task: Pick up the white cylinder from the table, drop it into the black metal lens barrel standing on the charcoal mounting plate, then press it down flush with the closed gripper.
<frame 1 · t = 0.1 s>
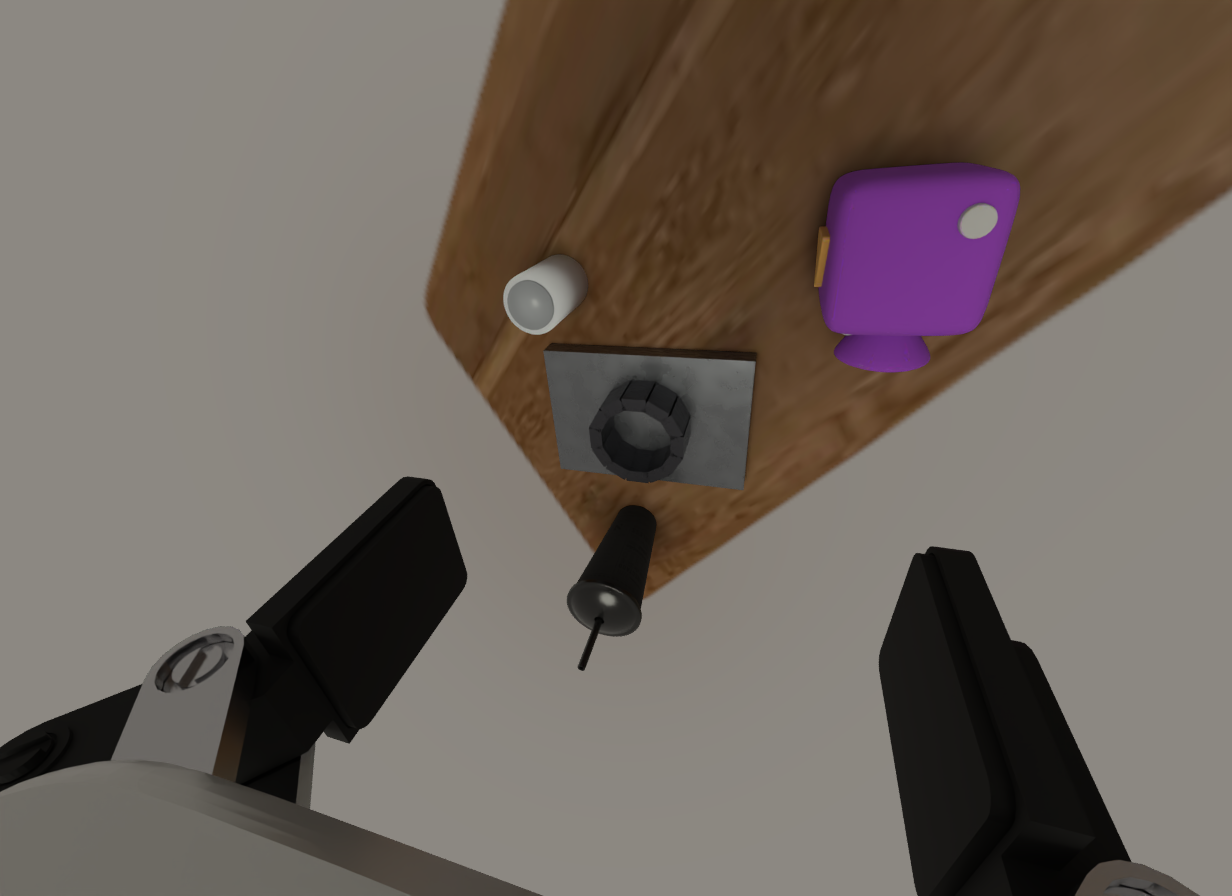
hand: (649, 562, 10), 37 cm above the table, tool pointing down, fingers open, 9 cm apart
white cylinder: (562, 282, 46), on the table
drinking cup: (637, 519, 60), on the table
toy camera: (887, 258, 38), on the table
lens mount: (650, 412, 51), on the table
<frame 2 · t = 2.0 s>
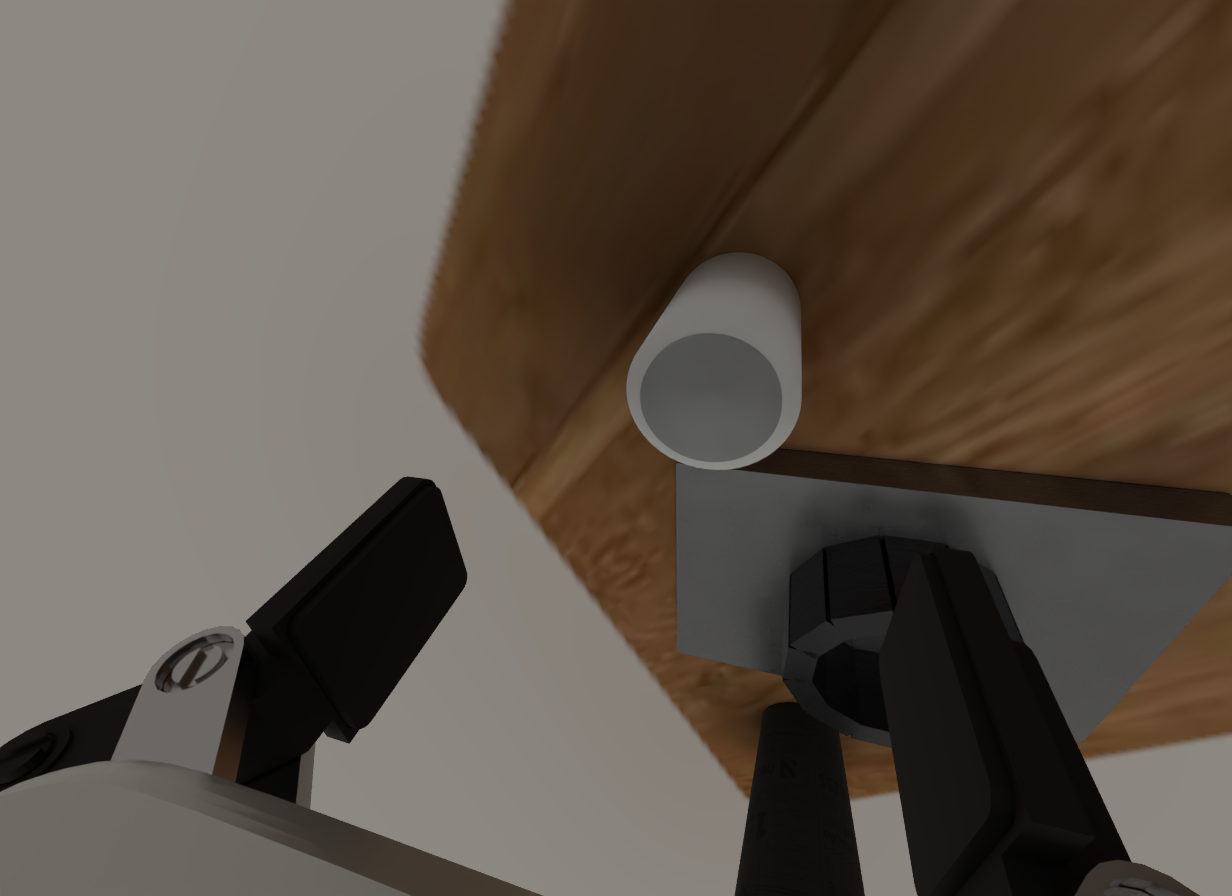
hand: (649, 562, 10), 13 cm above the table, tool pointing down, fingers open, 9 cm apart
white cylinder: (734, 317, 20), on the table
drinking cup: (800, 720, 34), on the table
lens mount: (882, 577, 25), on the table
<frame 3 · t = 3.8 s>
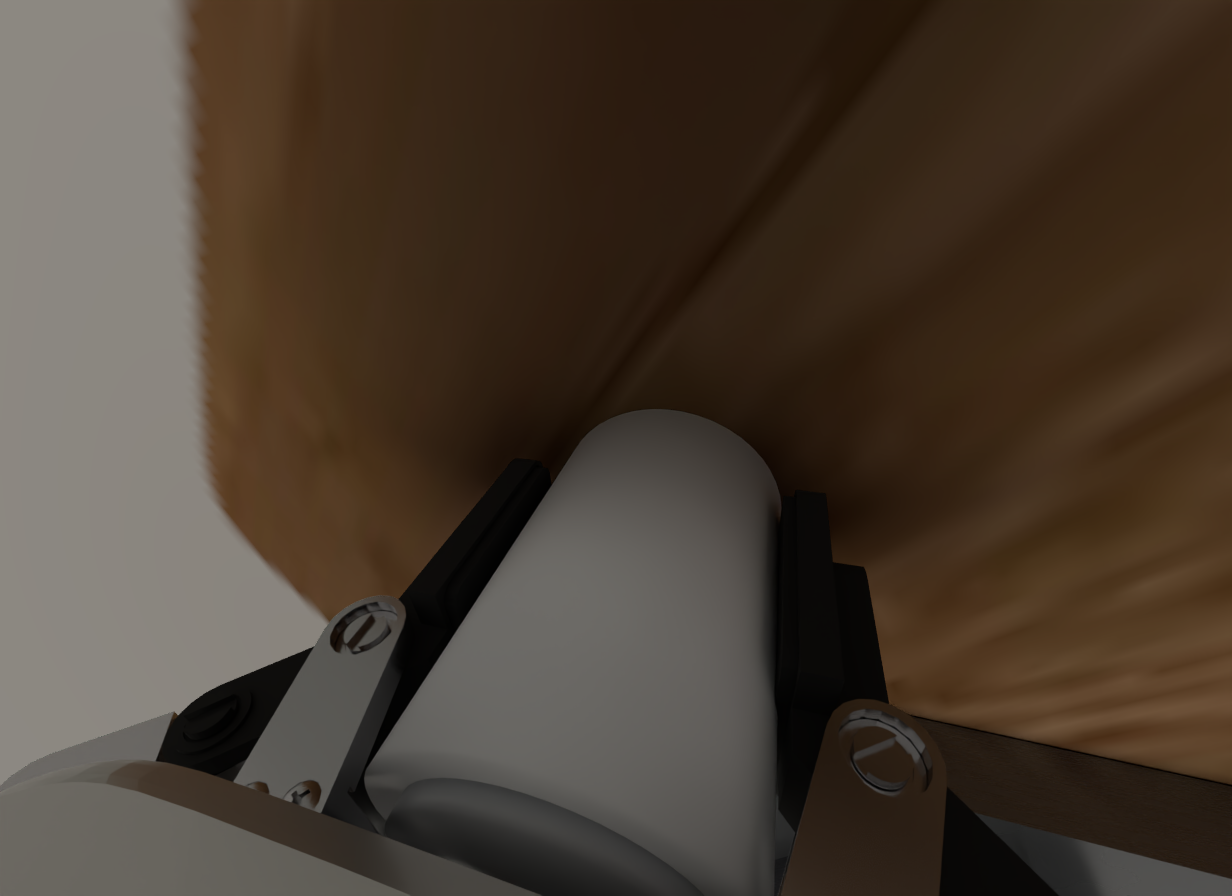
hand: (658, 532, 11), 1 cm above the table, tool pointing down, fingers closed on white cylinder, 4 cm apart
white cylinder: (667, 504, 11), on the table, touching gripper
lens mount: (912, 846, 16), on the table
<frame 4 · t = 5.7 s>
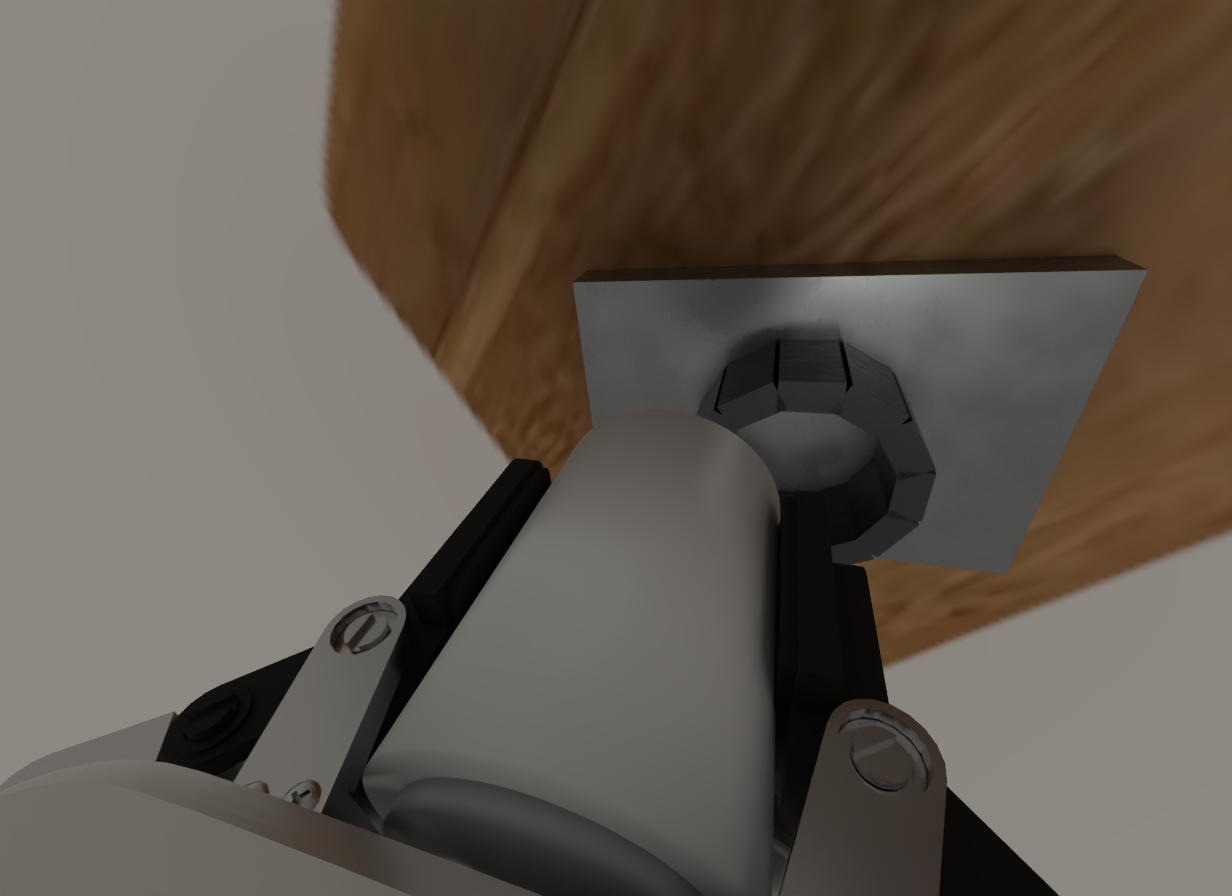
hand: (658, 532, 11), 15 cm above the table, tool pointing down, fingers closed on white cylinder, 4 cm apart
white cylinder: (666, 504, 11), point 14 cm above the table, touching gripper
drinking cup: (742, 607, 33), on the table
lens mount: (797, 413, 24), on the table
when the fingers open (8 cm above the table, at t = 7.7 s): white cylinder drops 5 cm, resting on lens mount.
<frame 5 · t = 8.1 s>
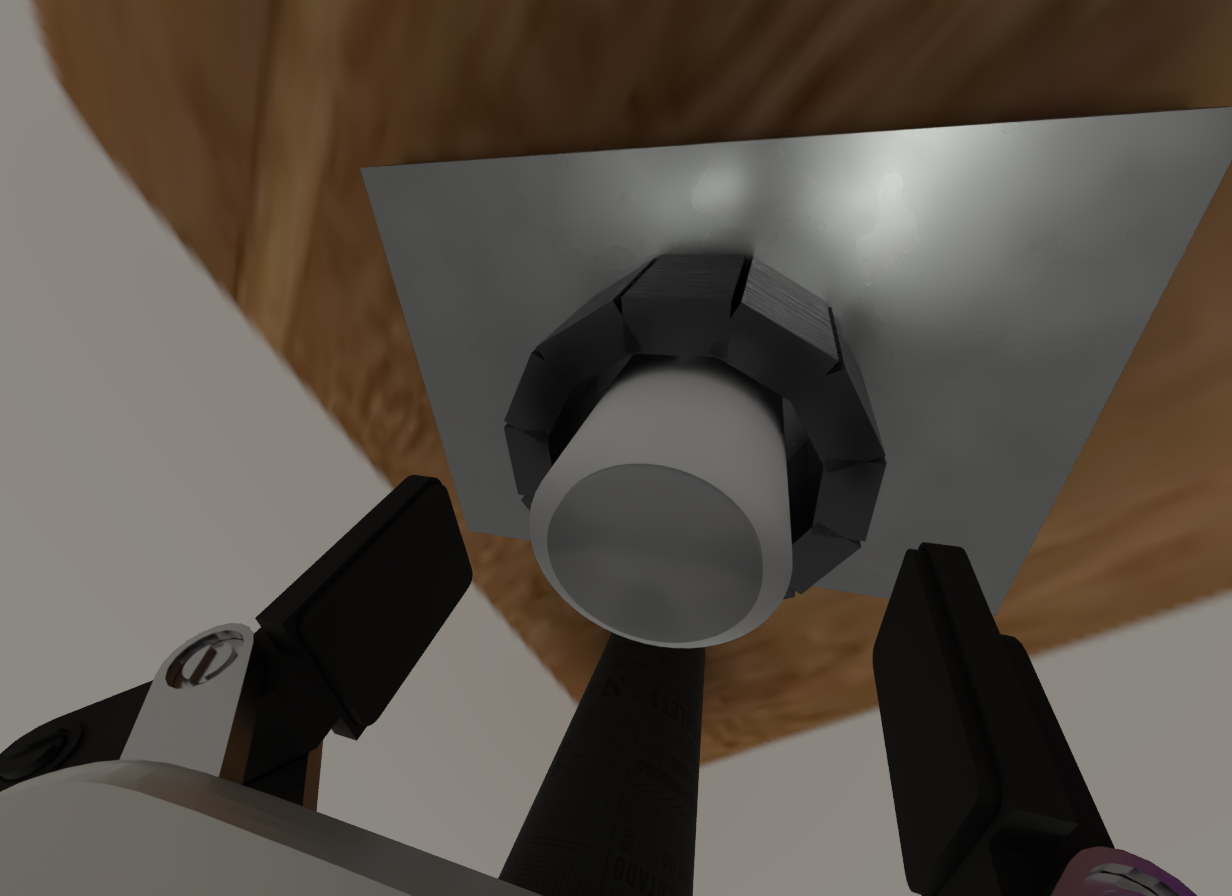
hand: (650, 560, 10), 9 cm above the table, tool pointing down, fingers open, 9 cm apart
white cylinder: (696, 405, 15), point 2 cm above the table, touching lens mount
drinking cup: (659, 640, 26), on the table
lens mount: (707, 379, 17), on the table
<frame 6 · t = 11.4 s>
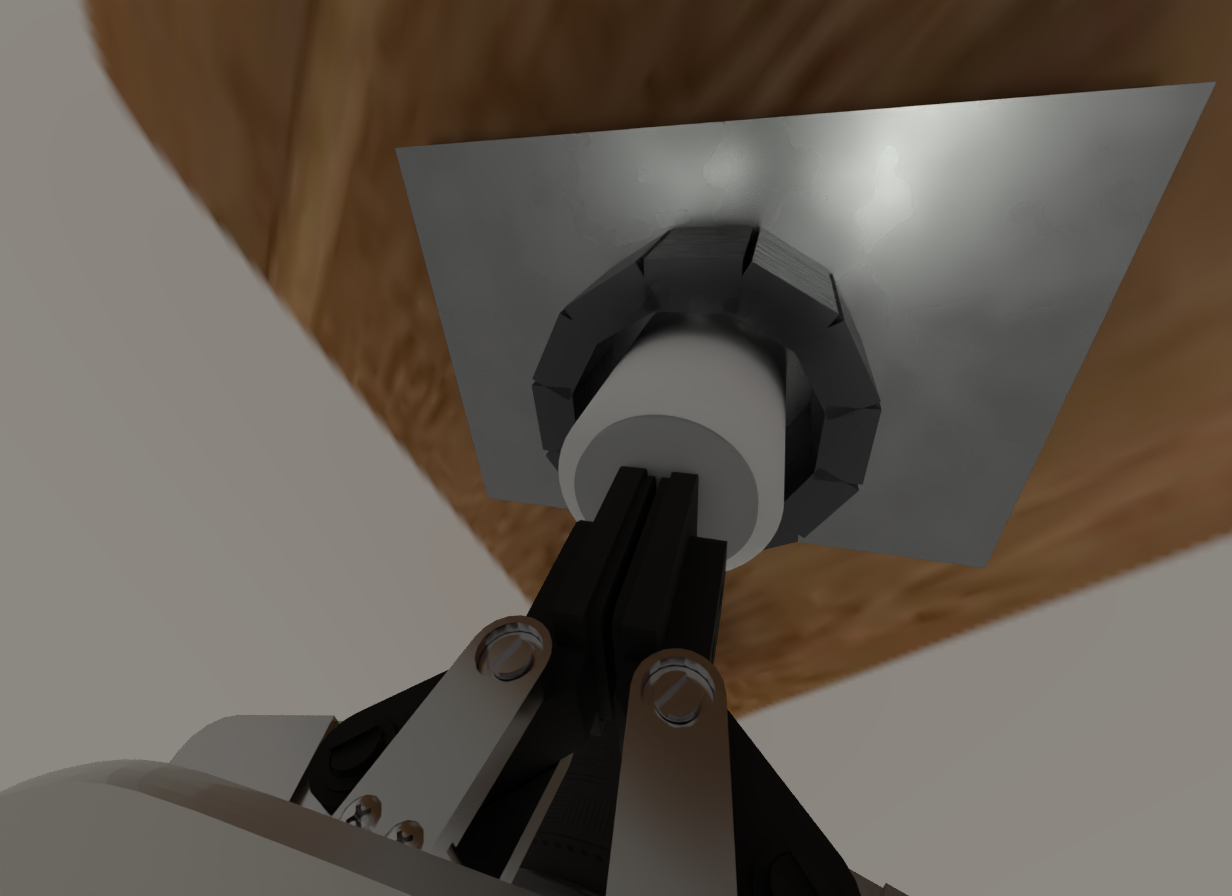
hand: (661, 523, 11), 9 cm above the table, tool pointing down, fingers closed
white cylinder: (707, 368, 16), point 2 cm above the table, touching gripper, lens mount
drinking cup: (668, 605, 27), on the table
lens mount: (716, 349, 18), on the table
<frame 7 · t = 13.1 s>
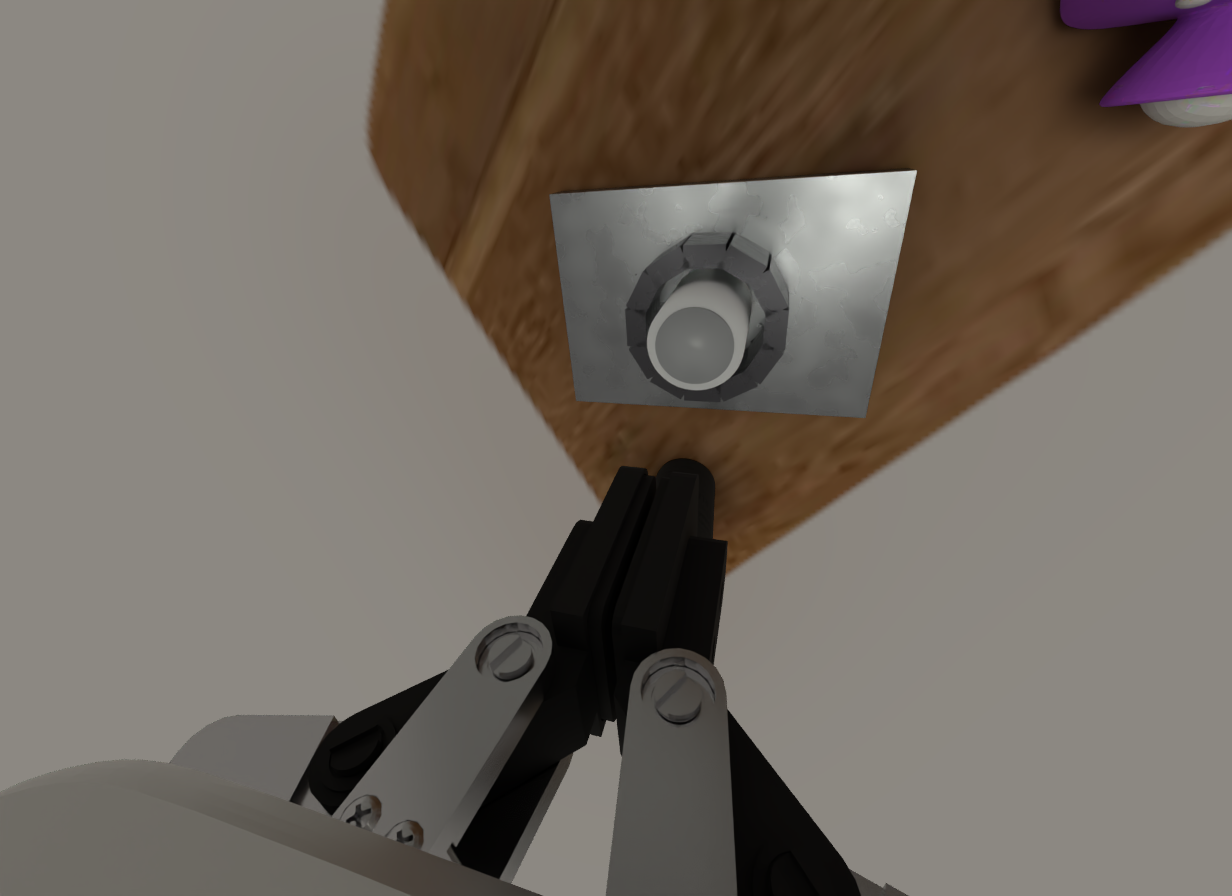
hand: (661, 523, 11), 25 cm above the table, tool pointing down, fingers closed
white cylinder: (710, 307, 31), point 2 cm above the table, touching lens mount
drinking cup: (686, 481, 41), on the table
lens mount: (715, 300, 33), on the table
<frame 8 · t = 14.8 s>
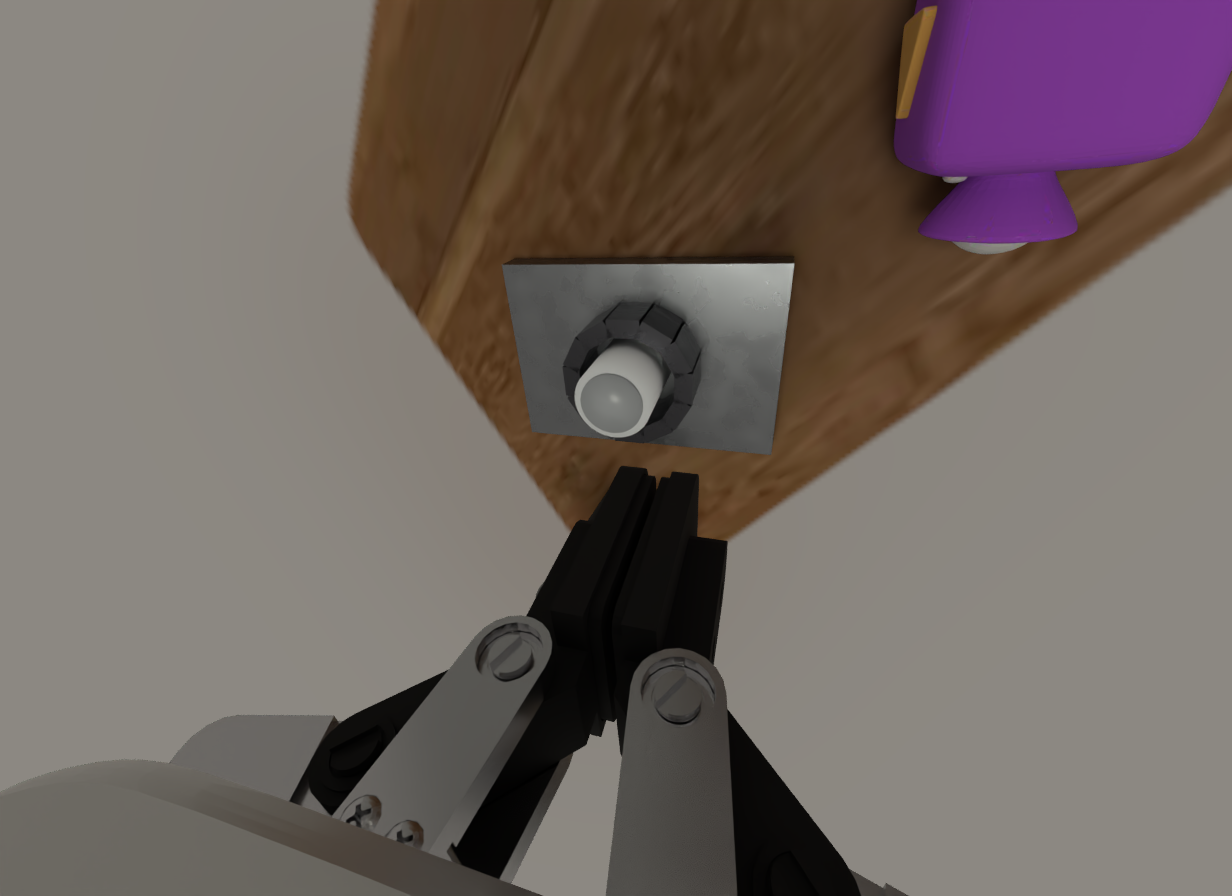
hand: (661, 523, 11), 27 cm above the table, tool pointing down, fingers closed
white cylinder: (639, 360, 37), point 2 cm above the table, touching lens mount
toy camera: (998, 90, 25), on the table
lens mount: (646, 352, 38), on the table
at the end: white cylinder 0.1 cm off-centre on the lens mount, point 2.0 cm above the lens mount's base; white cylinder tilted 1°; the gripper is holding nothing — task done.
